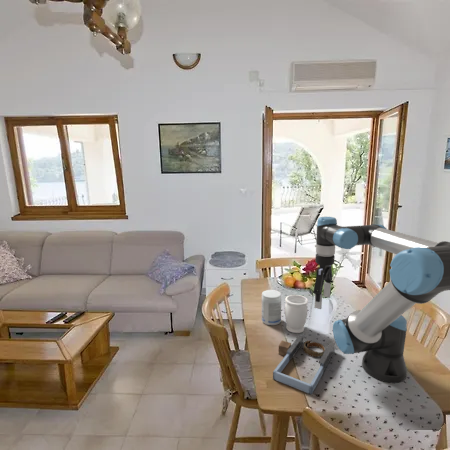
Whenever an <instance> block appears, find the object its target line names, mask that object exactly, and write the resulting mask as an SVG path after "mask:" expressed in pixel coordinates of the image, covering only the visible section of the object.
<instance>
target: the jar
mask: <svg viewBox="0 0 450 450" xmlns="http://www.w3.org/2000/svg"><path fill="white" fill-rule="evenodd" d="M284 299H285V300H284V302H285V306H284V316H285V322H286V323H285V324H286V326H285V327H286V330H287V331H288V332H290V333H293V334H301V333H303V332H304V331H305V325H306V322H307V319H308V318H307V317H308V305H307V304H308V303H309V300H308V298H307V297H306V296H303V295H299V294H290V295H287V296H286V297H285V298H284Z"/></svg>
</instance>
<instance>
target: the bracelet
mask: <svg viewBox="0 0 450 450" xmlns="http://www.w3.org/2000/svg"><path fill="white" fill-rule="evenodd" d="M311 347H317V348H320V349H321V350H322V351H319V352H318V351H315V350H314V349H311ZM325 350H326V348H325V346H324V345H323V344H322V343H319V342H318V341H317V342H316V341H312V340H306V341H305V342H303V352H304V353H305V354H306V355H307V356H310V357H313V358H318V357H320V358H321V357H322V355H323V354H324V352H325Z"/></svg>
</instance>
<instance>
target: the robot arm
mask: <svg viewBox="0 0 450 450" xmlns="http://www.w3.org/2000/svg"><path fill="white" fill-rule="evenodd" d="M337 220H338V219H337V218H336V217H333V216H320V217H318V219H317V224H316V239H315V241H316V244H315V245H314V247H315V260H314V261H315V263H316V264H317V265H319V267H318V268H317V269H316V275H315V280H314V281H315V282H314V286H313V291H312V293H313V294H314V307H313V308H315V309H317V310H322V309H323V307H322V306H323V305H322V304H323V297H324V298H331V288H332V287H331V285H332V284H333V283H334V280H333V268H332V266H333V265H334V264H335V254H336V247H338V248H339V249H340V248H341V249H344V250H351V249H353V248H354V247H355V246H356V247H357V246H366V245H367V246H372V247H374V248H378V249H381V250H383V251H387V252H388V253H392V254H394V255H395V256H394V257H393V258H392V260H391V262H390V264H389V265H390V267H391V268H390V269H389V280H390V281H389V282H388V283H387V284H386V285H384V287H383V288H382V289H381V290H380V291H379V292H378V293H377V294H376V295H375V296H373V298H371V300H370V301H369V302H368V303H367V304H366V305H365V306H363V308H362V309H361V310H359V309H358V310H355V311H352V312H351V313H350V314H349V315H348V316H347V317H346V318H343V319H338V320H335V321H334V322H333V324H332V336H333V337H334V338H333V339H334V341H335V342H334V343H335V344H336V347H338V349H339V351H341V352H342V353H343V354H345V355H355V354H359V353H363V352H365V353H364V355H363V357H362V362H361V366H362V369H363V370H364V371H365V372H366V373H367V374H368V375H369V376H371V377H372V378H374V379H376V380H379V381H382V382H386V383H401V382H403V381H405V379H406V378H407V373H408V369H407V365H406V362H405V357H404V353H405V352H404V350H405V345H406V338H407V331H408V329H407V328H408V327H407V326H408V323H407V321H408V320H407V319H406V317H404V316H403V314H405V313H406V312H408V310H410V309H411V308H412V307H413V306H415V305H416V304H418V305H420V304H421V305H422V304H426V303H429V302H430V301H431V300H433V298H435V297H437V295H439V294H441V293H442V292H445V291H450V241H443V240H442V241H439V242H437V241H433V240H429V239H426V238H421V237H417V236H413V235H410V234H406V233H403V232H399V231H394V230H390V229H388V228H387V227H385V226H384V225H382V224H376V223H375V224H374V223H372V224H367V225H366V224H365V225H349V226H346V225H345V226H342V225H338V221H337Z"/></svg>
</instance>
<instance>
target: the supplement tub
mask: <svg viewBox="0 0 450 450" xmlns="http://www.w3.org/2000/svg"><path fill="white" fill-rule="evenodd" d="M261 321H262V323H263V324H265V325H267V326H277V325H280V323H281V321H282V292H280V291H278V290H275V289H267V290H263V291H262V292H261Z"/></svg>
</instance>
